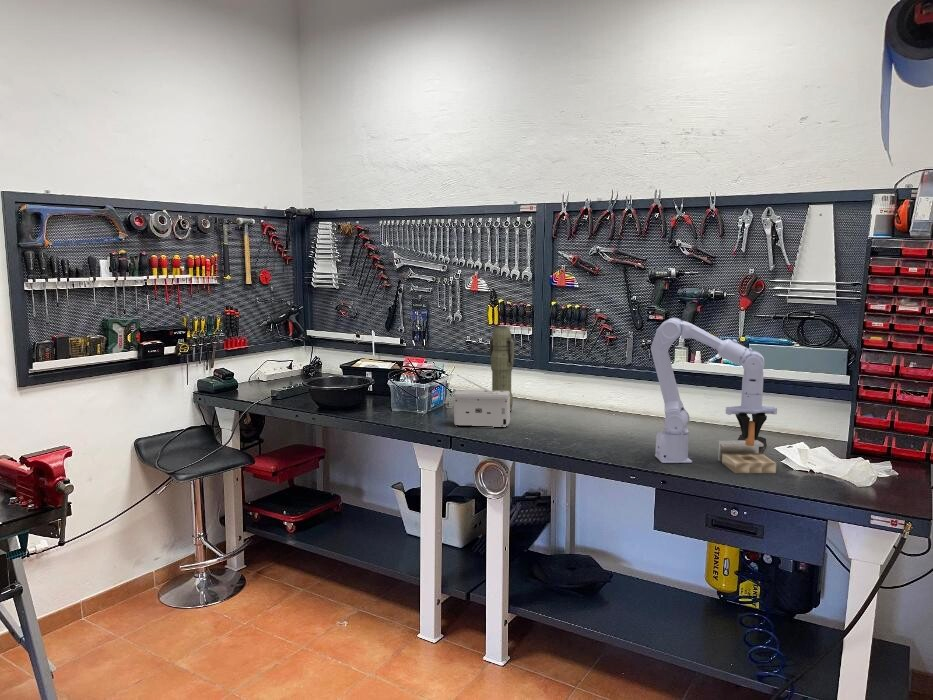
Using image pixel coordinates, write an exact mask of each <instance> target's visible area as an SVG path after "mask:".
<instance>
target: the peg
mask: <svg viewBox="0 0 933 700" xmlns="http://www.w3.org/2000/svg"><path fill="white" fill-rule="evenodd" d="M754 438H755V422H754V421H752V420H750V421H749V426H748V438H747V439H746V443H745V445H748V446H754Z"/></svg>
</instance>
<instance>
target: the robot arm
mask: <svg viewBox="0 0 933 700" xmlns="http://www.w3.org/2000/svg"><path fill="white" fill-rule="evenodd" d="M655 331H656V332H655V333H654V334H655V335H654V337H653V340H652V343H651V345H650V351H651V352H650V353H651V354H652V355H651V356H652V359H653V363H654V367H655V371H656V376H657V379H658V384H659V386H660V391H661V395H662V399H663V403H664V413H665V419H664V427H665V428H664V431H658V432H657V433H656V436H655V454H654V457H655V458H657V459H658V461H659V462H661V464H663V463H664V464H679V463H681V464H688V463H689V464H690V463H693V460H692V459H690V458H689V457H688V456H689V439H690V438H689V437H690V431H689V429H688V428H687V425H688V424H689V422H690V414H689V413H688V411H687V410H686V409H685V407H684V404H683V401H682V399H681V396H680V393H679V388H678V386H677V385H678V384H677V382H676V381H677V380H676V378H675V374H674V373H675V372H674V369H673V366H672V360H671V357H670V353H669V350H670V348H671V347H672V345H673V344H674V342H675V341H676V340H677V339H679V337H681V338H680V339H681V340H682V339H683V340H685V339H693V340H696V341H697V342H699V343H701V344H704V345H706V346H708V347H710V348H712V349H714V350H716V351H717V353H718V356H719V357H721V358H722V359H725V360H726V361H728V362H730V363H733V364H735V365H736V366H739V367H740V366H741V367H742V368H743V376H742V380H741V382H742V383H741V401H740V402H741V403H740V405H737V406H726V407H725V414H726V415H727V416H731V415H735V417H736V419H737V422H738V424H739V427H740V431H741V434H742V437H743V438H745V439H747V438H748V426H749V421H754V422H755V439H757V438H758V437H759V435H760V431H761V429H762V427H763V425H764V423H765V422H766V420H767V418H768V416H767V415H778V408H777V407H775V406H765V405H764V406H763V397H764V396H763V393H764V392H763V391H764V369H765V365H766V364H765V358H764V356H763V355H762V353H760V352H759V351H757V350H753V348H751V347H749V348H748V347H745V346H744V345H742V344H740V343H738V340H737V339H730V338H728V339H727V338H726V339H725V340H722V339H721V338H719V337H717V336H715V335H713V334H712V333H710V332H708V331H706V330H704V329H702V328H700V326H699V327H698V326H697V325H694V324H693V323H690V322H688V321H686V320H682V319H680V318H678V317H670V318H668V319H666V320H664V321H663V322H661V324H660V325H659V327H657V329H656V330H655ZM749 415H751V418H752V419H751V418H750V416H749Z"/></svg>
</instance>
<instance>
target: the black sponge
mask: <svg viewBox="0 0 933 700" xmlns="http://www.w3.org/2000/svg"><path fill="white" fill-rule="evenodd" d="M737 440H746V439H745V438H743V437H742V433H741V434H740V435H739V436H738V438H737ZM754 440H758V441H760V442H761V443H763V444H764V447H759V452H758V453H761V454H763V451H764V450H765V449H766V448H767V438H765V437H764V436H758V438H757V439H755V438H754Z"/></svg>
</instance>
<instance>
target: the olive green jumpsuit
mask: <svg viewBox="0 0 933 700" xmlns="http://www.w3.org/2000/svg"><path fill="white" fill-rule="evenodd" d="M489 361H490V369H491V373H492V374H491V377H492V378H491V381H492V382H491V383H492V384H491V391H509V392H510V411H512V412H513V405H514V404H513V401H514V400H513V396H514V395H513V394H512V371H513V367H514V364H515V341H514V339H513V338H512V332H511V328H510V327H508V326H507V325H497V326H496V327H495V326H494V328H493V331H492V337H491V338H490V339H489Z"/></svg>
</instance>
